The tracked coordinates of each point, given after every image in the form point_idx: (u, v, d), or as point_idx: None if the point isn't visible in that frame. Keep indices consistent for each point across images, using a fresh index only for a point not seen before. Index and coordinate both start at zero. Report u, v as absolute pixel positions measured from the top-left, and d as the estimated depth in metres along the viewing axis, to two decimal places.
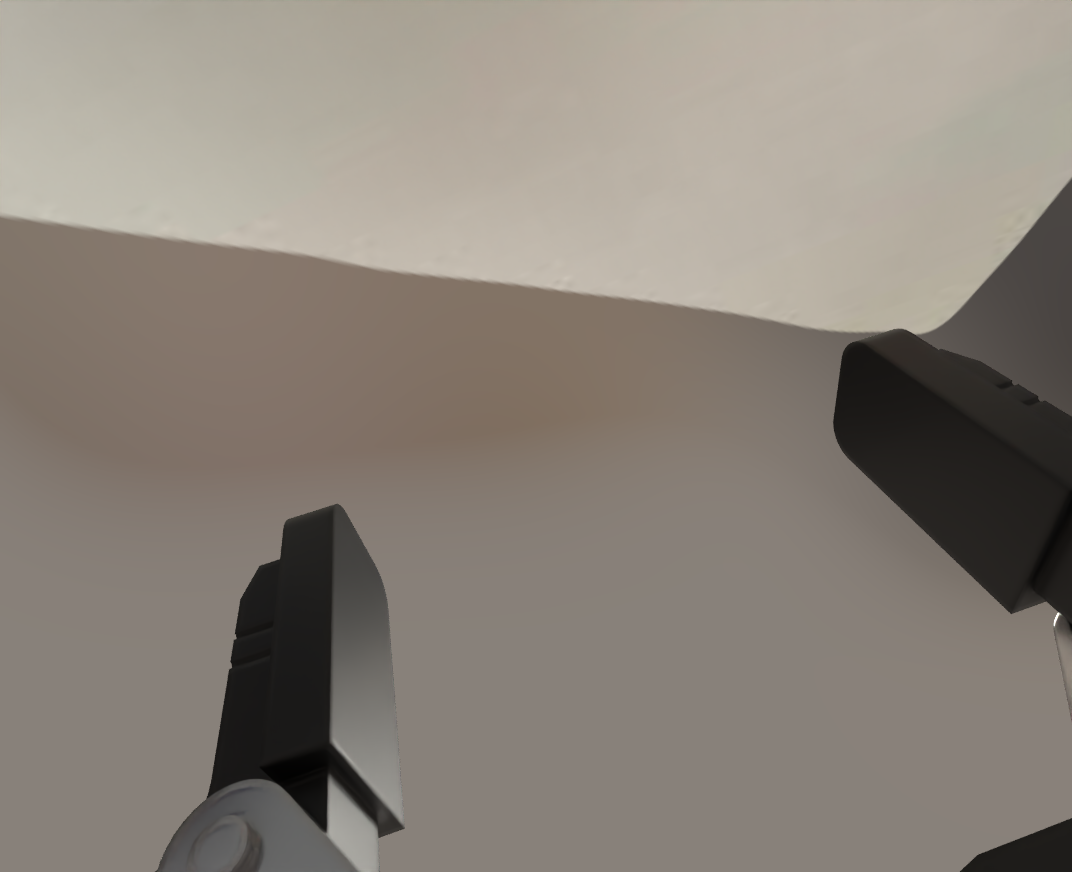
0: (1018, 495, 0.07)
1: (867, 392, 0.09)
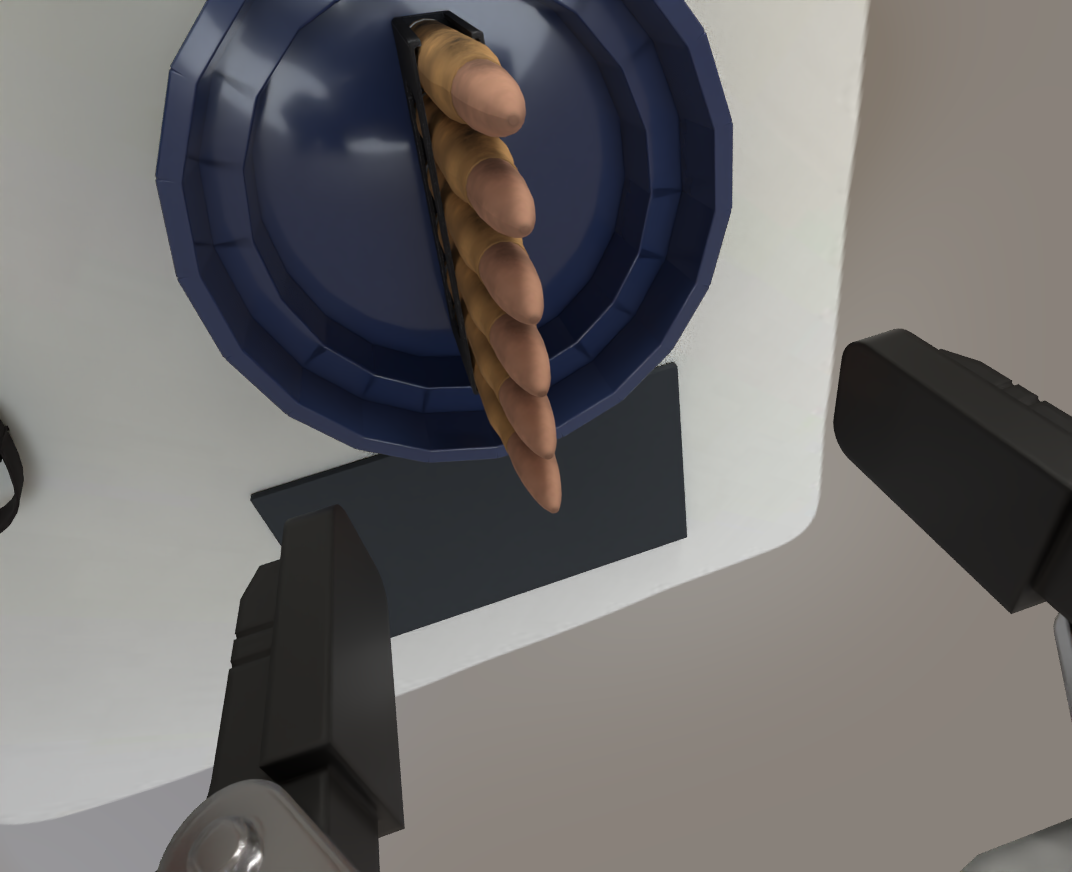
0: (1018, 495, 0.07)
1: (867, 392, 0.09)
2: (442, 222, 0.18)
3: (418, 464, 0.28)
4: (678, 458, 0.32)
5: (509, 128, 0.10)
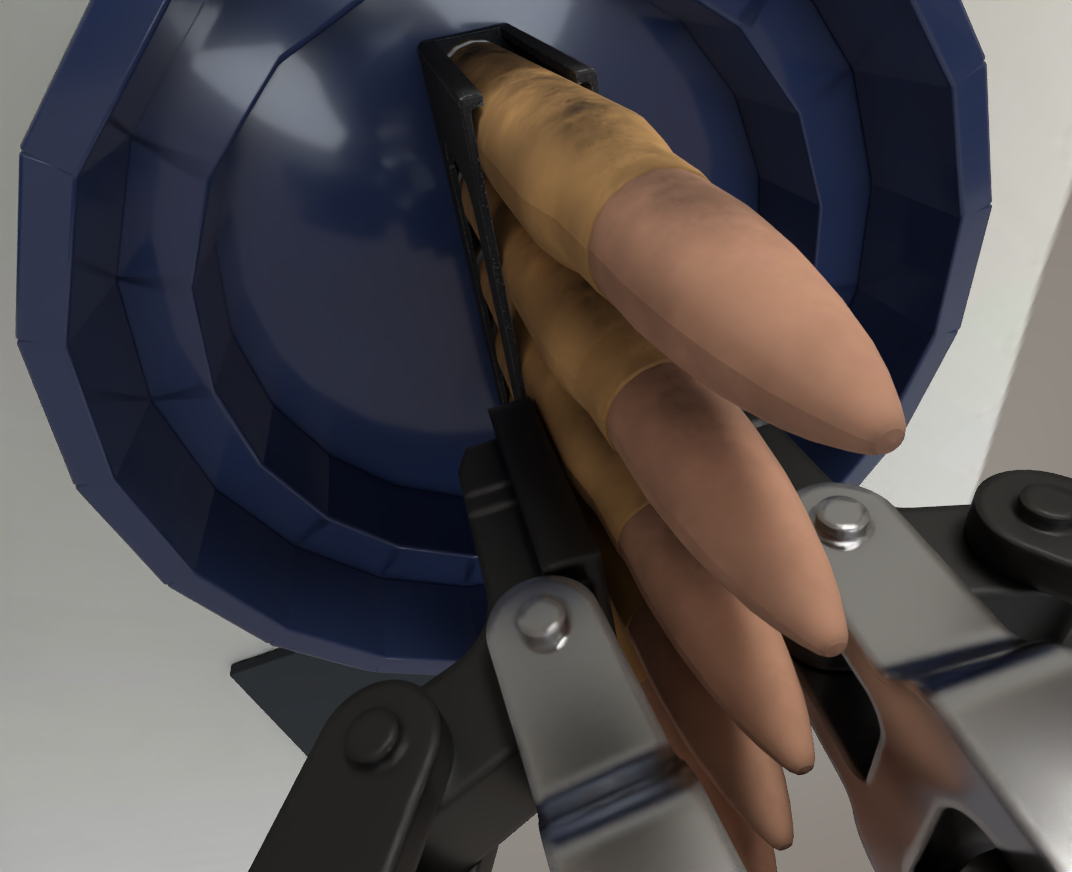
0: None
1: None
2: (518, 381, 0.11)
3: None
4: None
5: None
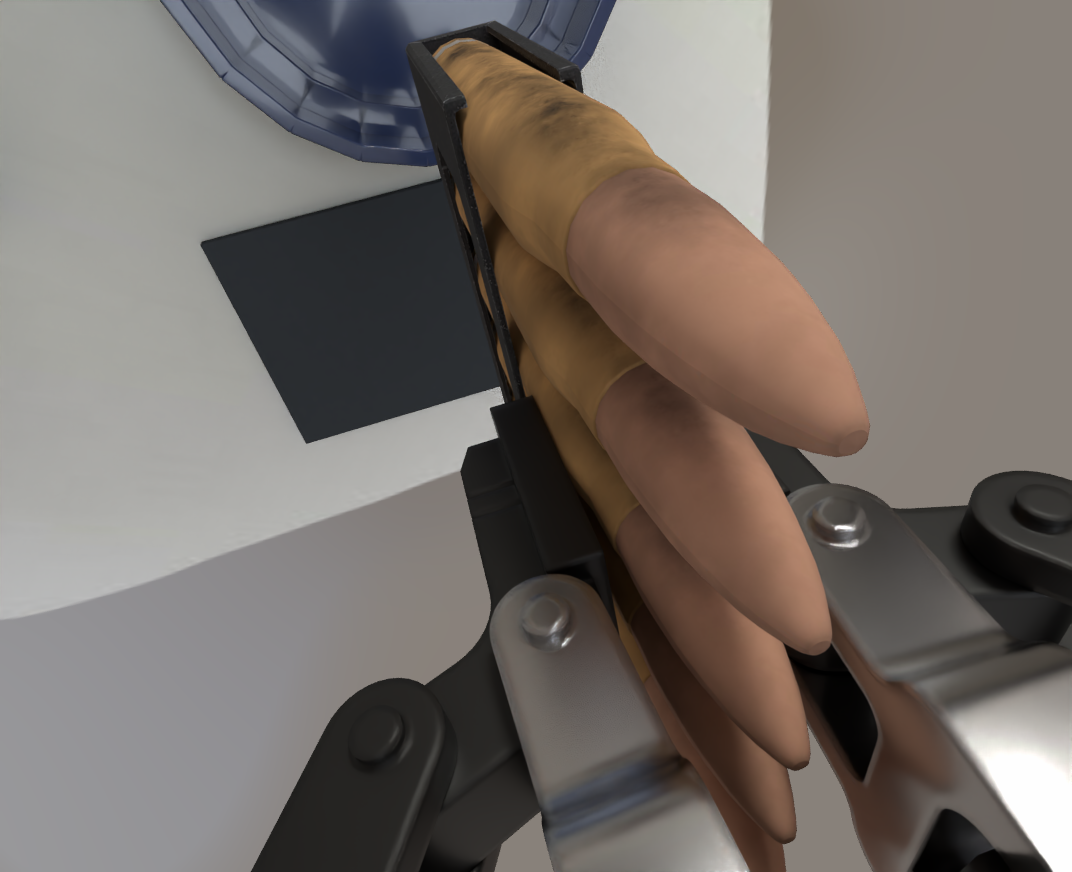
0: None
1: None
2: (516, 381, 0.11)
3: (364, 222, 0.30)
4: None
5: None
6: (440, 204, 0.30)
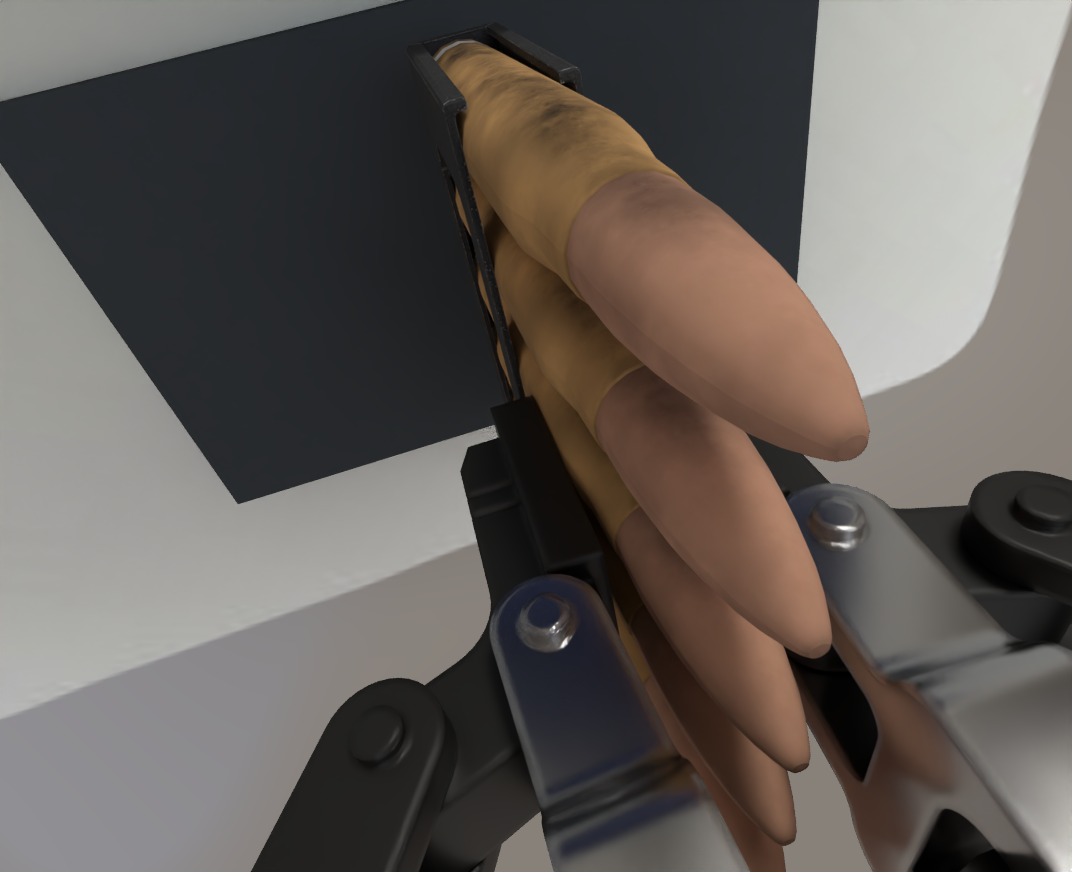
0: None
1: None
2: (516, 382, 0.11)
3: (319, 73, 0.14)
4: (801, 148, 0.18)
5: None
6: None
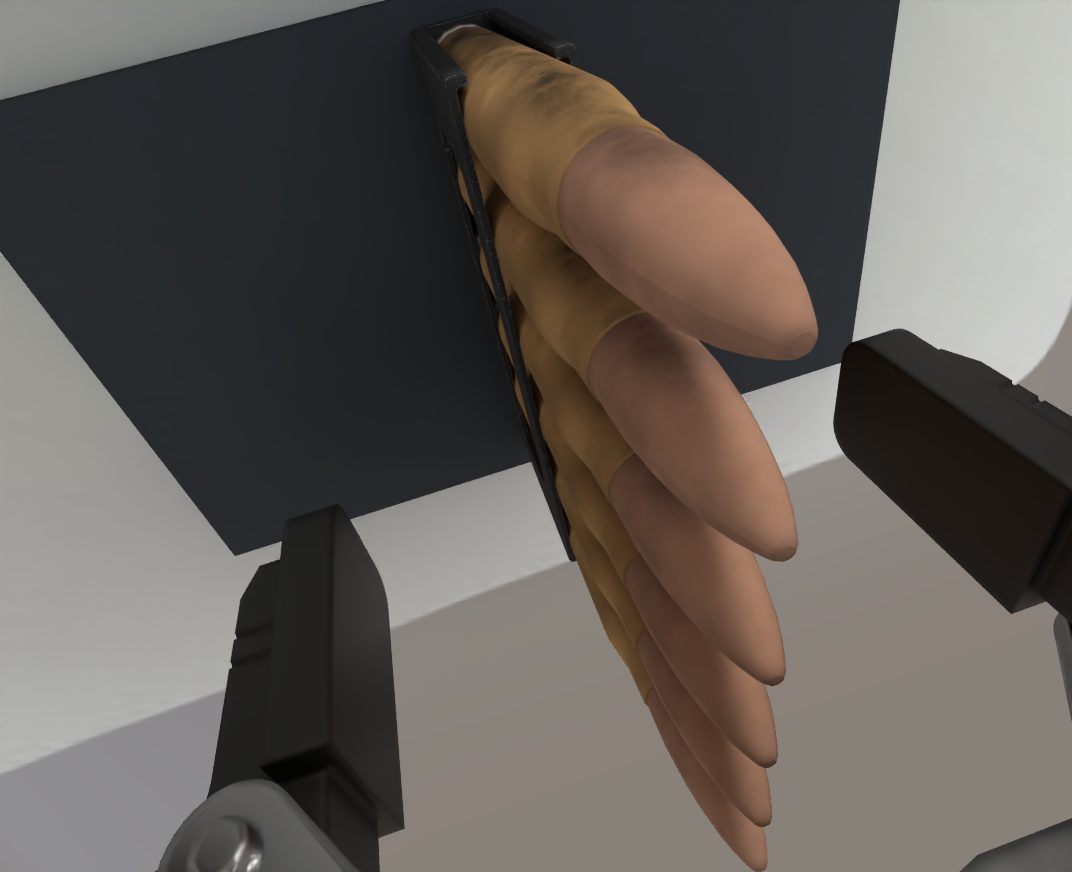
0: (1018, 495, 0.07)
1: (867, 392, 0.09)
2: (516, 352, 0.11)
3: (323, 77, 0.12)
4: (870, 157, 0.16)
5: None
6: None
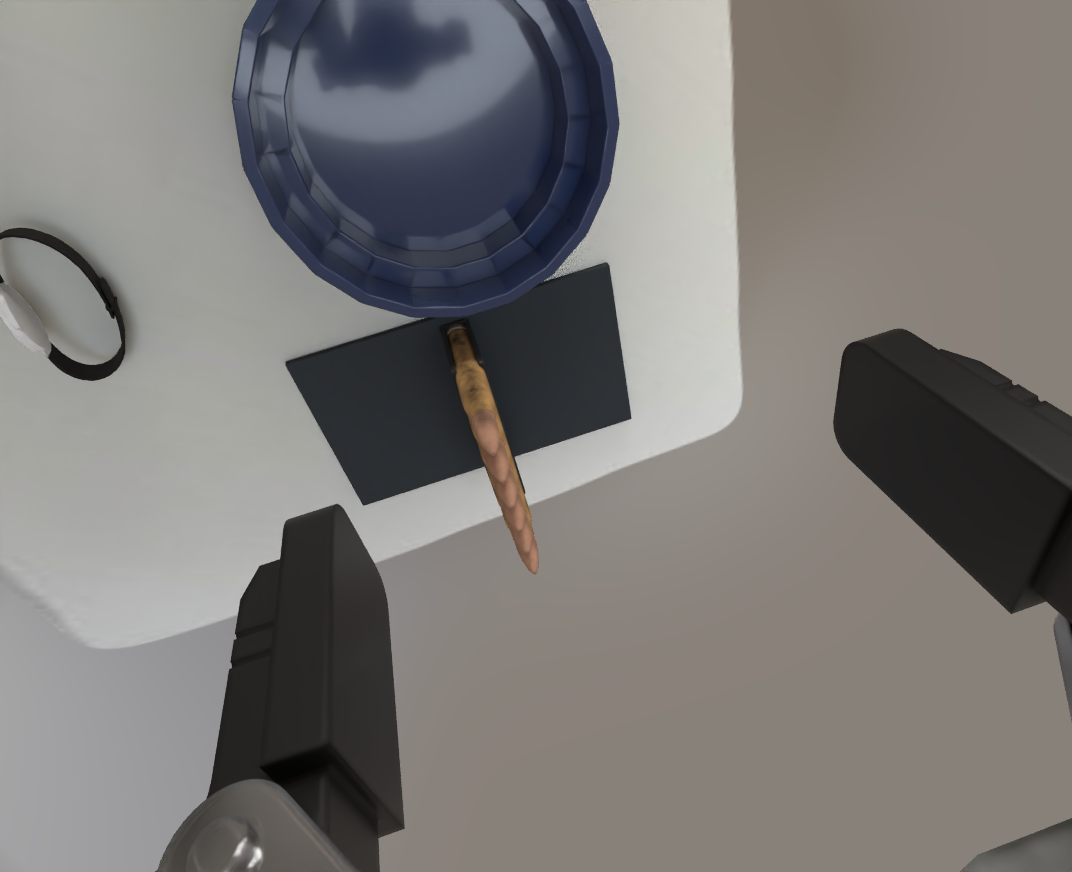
0: (1018, 495, 0.07)
1: (867, 392, 0.09)
2: (473, 433, 0.36)
3: (411, 340, 0.37)
4: (617, 345, 0.41)
5: (493, 456, 0.29)
6: (471, 323, 0.38)
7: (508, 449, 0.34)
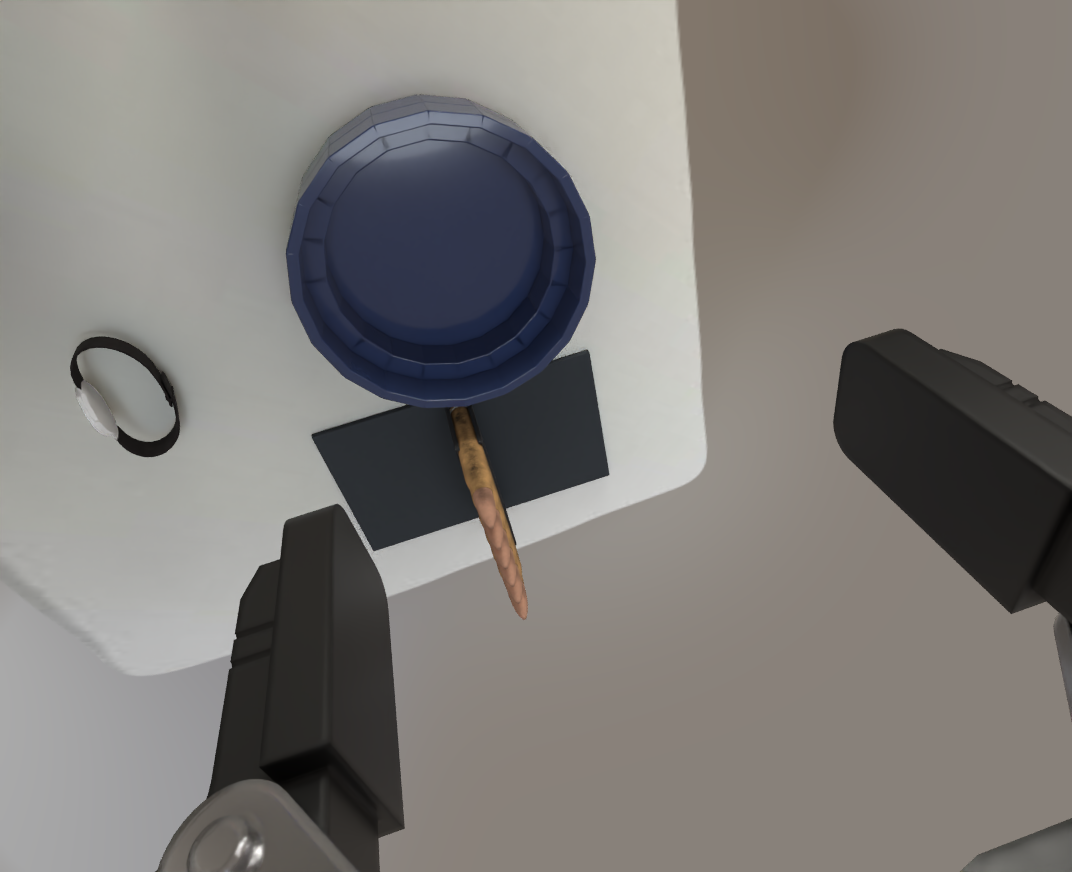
0: (1018, 495, 0.07)
1: (867, 392, 0.09)
2: None
3: (419, 416, 0.44)
4: (596, 416, 0.47)
5: (491, 528, 0.35)
6: None
7: (502, 514, 0.40)
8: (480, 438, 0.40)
